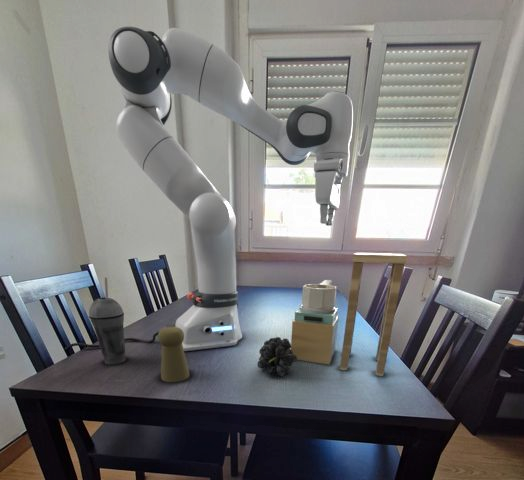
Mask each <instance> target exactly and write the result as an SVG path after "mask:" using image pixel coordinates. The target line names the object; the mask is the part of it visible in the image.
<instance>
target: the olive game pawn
mask: <svg viewBox="0 0 524 480" xmlns="http://www.w3.org/2000/svg"><path fill="white" fill-rule="evenodd" d="M166 327H167V326H166ZM166 327H163V328H161V329H160V330H159V331H158V332H159V333H158V335H157V339H158V342H159V343H160V344H161V361H160V364H161V365H160V379H161V381H163V382H165V383H178V382H182V381H185V380H187V379H188V378H189V377H190V371H189V367H188V361H187V357H186V354H185V351H184V349H183V345H182V342H183V340H184V333H183V331H182V330H181V329H180V328H178V327H167V328H166Z"/></svg>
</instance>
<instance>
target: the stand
mask: <svg viewBox="0 0 524 480" xmlns="http://www.w3.org/2000/svg"><path fill="white" fill-rule="evenodd" d="M407 260H408V255H406V254H403V253H380V252H379V253H378V252H355V253H353V255H352V271H351V278H350V284H349V285H350V286H349V293H348V303H347V310H346V317H345V324H344V325H345V326H344V333H343V340H342V341H343V342H342V350H341V356H340V365H339V370H341V371H348V366H349V358H350V357H351V354H352V349H353V347H352V345H353V341H354V332H355V325H356V318H357V311H358V303H359V296H360V290H361V282H362V275H363V268H364V263H373V264H391V268H390V274H389V279H388V286H387V292H386V297H385V302H384V307H383V308H384V309H383V314H382V320H381V326H380V331H379V337H378V343H377V349H376V355H375V361H377V363H376V369H375V376H378V377H384V374H385V368H386V363H387V359H388V354H389V353H388V352H389V347H390V344H391V343H390V342H391V337H392V332H393V326H394V322H395V316H396V310H397V305H398V300H399V294H400V289H401V286H402V285H401V284H402V278H403V273H404V268H405V265H406V264H407Z"/></svg>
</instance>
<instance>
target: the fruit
mask: <svg viewBox="0 0 524 480" xmlns="http://www.w3.org/2000/svg"><path fill="white" fill-rule="evenodd" d="M281 338H282V337H279V336H278V337H270V338H269V339H268V340H265V341H264V342H263V345H262V346H261V347H260V349H259V353H258V354H259V358H258V361H257V367H258V368H259V369H261V372H262V373H263V374H264V375H268V374H271V375H272V376H277V375H278V376H284V375H285V374H287V373H288V372H290V367H292V365H293V363H295V362H297V361H298V360H297V357H296V355H293V352H292V350H291V341H290V340H289V339H288V338H282V339H281Z"/></svg>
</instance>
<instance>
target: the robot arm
mask: <svg viewBox="0 0 524 480" xmlns="http://www.w3.org/2000/svg"><path fill="white" fill-rule="evenodd" d="M107 46H108V49H107V51H108V52H107V53H108V59H109V64H110V68H111V71H112V73H113V76H114V77H115V80H116V81H117V83H118V86H119V88H120V91H121V93H122V96H123V97H124V99H125V107H124V108H123V109H121V111H120V112H119V113H118V116H117V119H116V122H115V123H116V124H115V126H116V127H115V128H116V129H115V130H116V134H117V136H118V138H119V140H120V141H121V143H122V145H123V146H124V147H125V149H126V151H127V152H128V153H129V155H130V156H131V157H132V159H133V161H135V162H136V164H137V166H139V168H141V170H142V171H143V172H144V173H145V175H147V176H148V178H149V179H150V180H151V181H152V182H153V183H154V184H155V185H156V186H157V188H158V189H159V190H160V191H161V192H162V193H163V194H164V196H166V198H167V199H168V200H169V201H170V202H171V203H172V204H174V206H176V208H178V209H179V211H181V212H182V214H184V215H185V216H186V217H187V219H188V220H189V223H190V231H191V238H192V244H193V251H194V255H195V256H194V257H195V261H196V275H197V287H198V288H197V289H198V291H197V292H196V293H192V292H188V293H187V295H186V298H187V299H188V300H190V301H192V306H190V307H189V308H188V309H186V311H185V312H183V314H181V315H180V316H179V317H178V318H177V319H176V321H175V323H170V324H166V327H165V328H167V327H178V328H180V329H181V330H182V331H183V333H184V340H183V342H182V345H183V349H184V352H189V351H197V350H198V351H199V350H207V349H208V350H209V349H216V348H223V347H232V346H236V345H237V343H238V341H240V340H241V339H242V338H243V332H242V330H241V326H240V322H239V321H240V320H239V313H238V312H239V311H238V309H239V292H238V291H237V261H236V260H237V259H236V242H235V241H236V240H235V229H236V226H237V217H236V214H235V211H234V209H233V208H232V206H231V203H230V202H229V201H228V200H227V199H226V198H225V197H224V196H222V194H221V193H220V192H219V191H218V189H217V188H216V187H215V186H214V184H213V183H212V182H211V181H210V179H209V178H208V177H207V176H206V175H205V174H204V172H203V171H202V170H201V168H200V167H199V165H197V163H196V162H195V161H194V160H193V158H192V157H191V156H190V155H189V154H188V153H187V151H186V150H185V149H184V148H183V146H182V145H180V143H179V142H178V141H177V140H176V138H175V137H174V136H173V135H172V134H171V131H169V130H168V129H167V128H166V126H165V124H166V123H167V121H168V120H169V118H170V115H171V112H172V109H173V108H172V107H173V101H172V95H176V94H177V95H184V96H187V97H188V98H189V97H190V98H191V99H192V100H194V101H195V102H197V103H199V104H200V105H202V106H205V107H206V108H207V109H209V110H212V111H214V112H215V113H217V114H219V115H221V116H223V117H225V118H227V119H229V120H230V121H232V122H234V123H236V124H237V125H239V126H241V127H242V128H243V129H245V130H246V131H248V132H249V133H251V134H253V135H254V136H255V137H257V138H258V139H260V140H261V141H263V142H264V143H266V144H268V145H269V146H271V147H272V148H273V150H274V151H275V152H276V153H277V155H278V156H279V158H280V159H281V160H282V161H283V162H285V164H288V165H290V166H298V165H301V164H302V163H304V162H305V161H307V159H308V158H309V156H310V155H311V153H312V154H313V153H314V154H315V161H314V162H313V171H314V178H315V181H314V182H315V183H314V184H315V187H314V188H315V189H314V190H315V191H314V192H315V194H314V195H315V196H314V197H315V203H316V204H317V205H319V214H320V218H319V219H320V221H319V222H320V224H322V225H325V226H327V227H329V226H330V227H332V226H333V219H334V216H335V211H338V210H339V206H340V196H341V184H342V183H343V179H345V178H347V177H348V172H349V163H350V142H351V140H352V134H353V122H354V110H353V109H354V108H353V107H354V106H353V102H352V99H351V97H350V96H349V95H347V94H346V93H344V92H342V91H329V92H326V93H325V94H324V95H323V96H322V97H321V98H319V99H318V100H316V101H314V102H312V103H309V104H302V105H299V106H297V107H295V108H294V109H293V110H292V111H291V112H290V114H289V115H288V117H287V119H286V121H283V120H282V119H280V118H278V117H276V116H275V115H274V114H272V113H271V112H270V111H268V110H267V109H266V108H264V107H262V106H261V105H260V104H258V102H257V101H256V100H255V99H254V97H253V95H252V93H251V91H250V89H249V87H248V84H247V81H246V79H245V76H244V73H243V70H242V68H241V66H240V65H239V63H237V62H236V61H235V59H233V57H231V56H230V55H229V54H228V53H227V52H226V51H224V50H223V49H221V48H220V47H218V46H217V45H215V44H213V43H211V42H210V41H208V40H207V39H205V38H203V37H201V36H198V35H196V34H194V33H192V32H190V31H186V30H184V29H181V28H177V27H171V28H168V29H167V30H166V31H165V32H164V34H163V36H162V38H161V37H160V36H159V35H158V34H157V33H155V32H154V31H152V30H144V29H141V28H139V27H135V26H122V27H119V28H117V29H116V30H114V31H113V33H112V34H111V35H110V38H109V41H108V45H107ZM158 333H159V331H157V332H155V333H154V334H153V335H152V339H149V340H143V339H139V338H135V337H126V338H125V337H124V342H126V341H127V342H128V341H134V342H140V343H149V344H151V343H154V342H155V341H156V337H158ZM77 346H80V347H86V348H100V345H99V344H89V343H83V342H74V343H70V344H68V345H66V347H64V350H65V351H66V350H67V351H68V350H69V349H72V348H73V347H77Z"/></svg>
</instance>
